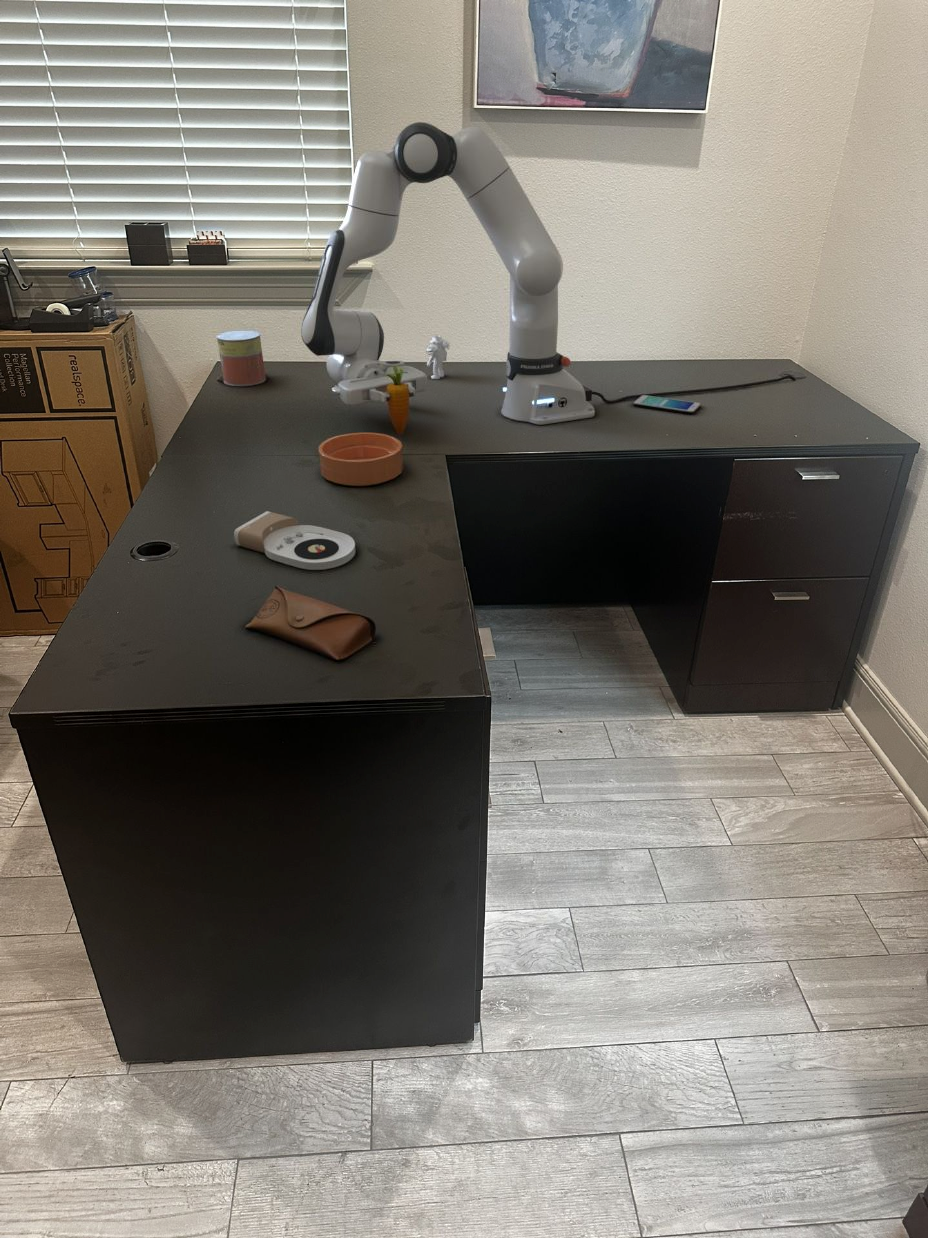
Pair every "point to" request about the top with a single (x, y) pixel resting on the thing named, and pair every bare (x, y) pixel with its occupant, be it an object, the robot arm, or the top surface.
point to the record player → (295, 542)
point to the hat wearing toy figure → (437, 355)
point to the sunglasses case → (313, 624)
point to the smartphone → (667, 404)
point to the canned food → (241, 357)
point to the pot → (361, 458)
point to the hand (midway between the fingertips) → (400, 395)
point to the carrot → (398, 401)
